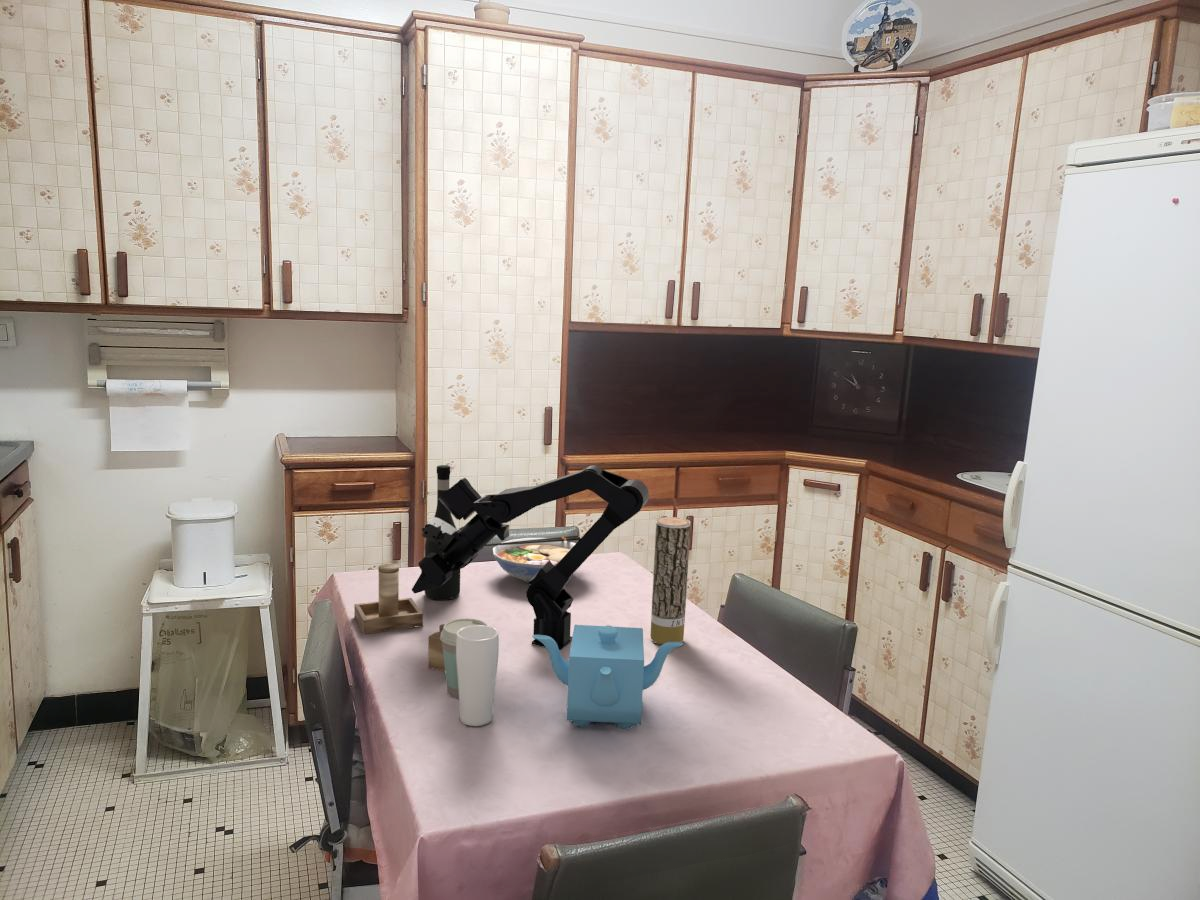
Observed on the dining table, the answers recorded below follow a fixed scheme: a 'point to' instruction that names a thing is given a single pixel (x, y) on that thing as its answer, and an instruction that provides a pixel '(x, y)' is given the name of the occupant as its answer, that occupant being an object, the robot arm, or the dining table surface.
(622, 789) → the dining table surface
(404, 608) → the walnut tray
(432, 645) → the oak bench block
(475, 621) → the coffee cup
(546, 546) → the ramen bowl
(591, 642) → the teakettle
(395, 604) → the beech dowel
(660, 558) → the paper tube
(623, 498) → the robot arm
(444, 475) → the wine bottle
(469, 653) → the drinking glass
